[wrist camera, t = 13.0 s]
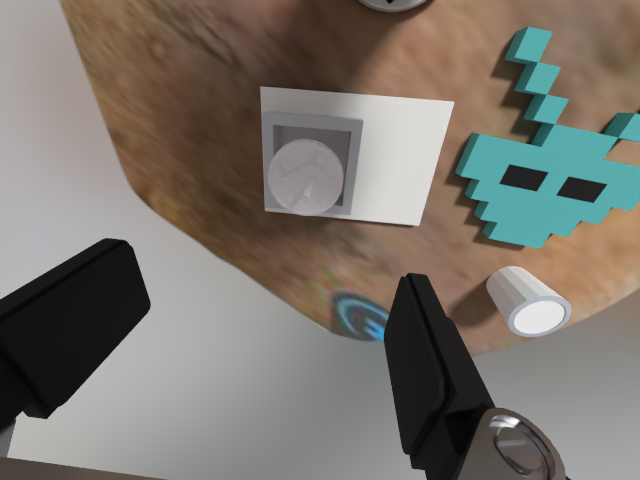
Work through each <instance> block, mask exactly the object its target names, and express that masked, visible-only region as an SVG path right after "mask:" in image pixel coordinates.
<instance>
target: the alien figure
mask: <svg viewBox="0 0 640 480" xmlns="http://www.w3.org/2000/svg"><path fill="white" fill-rule="evenodd" d="M552 33H553V32H551V31H546V30H542V29H537V28H532V27H526V28H524V29H521V30H519V31H517V32H516V34H515V36H514V38H513V41H512V43H511V45H510V48H509V50H508V52H507V54H506V57H505V59H504V60H506V61H511V62H516V63H520V64H525V65H526V66H525V68H524V70H523V72H522V74H521V76H520V78H519V80H518V83H517V85H516V87H515V89H514V91H518V92H522V93H527V94H532V95H534V97H533V99H532V101H531V103H530V105H529V107H528V109H527V111H526V113H525V115H524V117H523V119H526V120H531V121H536V122H540V123H542V125H541V127H540V129H539V130H538V132H537V134H536V136H535V138H534V139H533V141H532V143H531V145H530V144H525V143H520V142H515V141H511V140H506V139H501V138H496V137H491V136H486V135H481V134H477V133H472V134H471V136H470V139H469V141H468V143H467V146H466V148H465V150H464V152H463V155H462V157H461V159H460V161H459V164H458V166H457V168H456V171H455V173H457V174H458V175H460V176H462V177H467V178H472V179H471V181H470V183H469V185H468V187H467V189H466V192H465V195H467V196H468V197H469V198H471V199H476V200H480V202H479V204H478V206H477V208H476V210H475V212H474V214H475V215H476V216H477V217H478V218H479V219H481V220H486V221H488V222H487V224H486V226H485V228H484V229H483V231H482V233H483V234H484V235H485V236H487V237H488V238H489V239H494V240H499V241H504V242H509V243H514V244H519V245H524V246H529V247H534V248H539V249H540V248H541V246H542V245H543V244H544V242H545V241H546V239H547V238H548V236H549V235H550V234H556V235H561V236H566V237H569V235H570V234H571V233H572V231H573V230H574V229H575V227H576V226H577V225H578V223H579V222H580V221H585V222H590V223H595V224H599V223H600V222H601V221H602V219H603V218H604V217H605V216H606V214H607V213H608V212H609V210H610V209H611V208H612V207H615V208H620V209H625V210H630V211H631V210H632V209H633V208H634V207H635V205H636V204H637V203H638V202H639V201H640V167H637V166H632V165H627V164H622V163H617V162H612V161H608V160H603V159H604V157H605V156H606V154H607V153H608V152H609V150H610V149H611V147H612V146H613V144H614V143H615V142H616V140H617V139H622V140H629V141H636V142H640V114H636V113H617V115H616V116H615V118H614V119H613V121H612V122H611V124H610V125H609V127H608V128H607V130H606V131H605V133H604V134H599V133H594V132H589V131H585V130H580V129H575V128H570V127H565V126H561V125H556V124H555V123H556V121H557V119H558V118H559V116H560V114H561V112H562V111H563V109H564V107H565V105H566V104H567V102H568V100H569V99H565V98H560V97H555V96H550V95H547V93H548V91H549V90H550V88H551V86H552V84H553V82H554V80H555V78H556V76H557V75H558V73H559V71H560V69H561V67H558V66H553V65H548V64H544V63H539V62H538V61H539V59H540V57H541V55H542V53H543V51H544V49H545V47H546V45H547V43H548V41H549V39H550V37H551V35H552Z"/></svg>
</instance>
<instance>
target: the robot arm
mask: <svg viewBox="0 0 640 480" xmlns="http://www.w3.org/2000/svg"><path fill="white" fill-rule="evenodd" d="M358 1H359V2H361V3H362V4H364V5H365V6H367V7H369V8H372V9H374V10H377V11H382V12H389V13H393V12H401V11H406V10H409V9H412V8H415V7H417V6H419V5H421V4H423V3H424V2H426V1H428V0H392V3H390V4H389V3H387V0H358ZM150 305H151V304H150V300H149V296H148V293H147V290H146V287H145V284H144V281H143V278H142V275H141V271H140V268H139V265H138V262H137V259H136V256H135V253H134V250H133V248H132V247H131V246H130V245H129V243H128V242H127V241H125V240H118V239H110V238H105V239H103V240H101V241H99V242H97V243H96V244H94V245H92V246H91V247H89V248H87V249H85V250H84V251H82V252H80V253H79V254H77V255H75V256H74V257H72V258H70V259H68V260H67V261H65V262H63V263H62V264H60V265H58V266H56V267H55V268H53V269H51V270H50V271H48V272H46V273H45V274H43V275H41V276H39V277H38V278H36V279H34V280H33V281H31V282H30V283H28V284H26V285H24V286H22V287H21V288H19V289H17V290H16V291H14V292H12V293H10V294H9V295H7V296H6V297H4V298H2V299H0V480H165V479H158V478H151V477H144V476H137V475H129V474H122V473H115V472H108V471H101V470H94V469H86V468H79V467H72V466H65V465H57V464H51V463H43V462H35V461H28V460H21V459H13V458H7V454H8V450H9V446H10V442H11V438H12V434H13V430H14V426H15V422H16V416H18V415H19V414H20V413H21V412H22V411H23V412H24V413H25V414H26V415H27V416H28V417H36V418H43V419H47V418H48V417H49V416H50V415H51V414H52V413H53V412H54V411H55V410H56V408H57V407H59V406H61V405H63V404H64V403H66V402H67V401H68V399H69V398H70V397H71V396H72V395H73V394H74V393H75V392H76V391H77V390H78V389H79V388H80V386H81V385H82V384H83V383H84V382H85V381H86V380H87V379H88V378H89V377H90V375H91V374H92V373H93V372H94V371H95V370H96V369H97V368H98V367H99V366H100V364H101V363H102V362H103V361H104V360H105V359H106V358H107V357H108V356H109V355H110V353H111V352H112V351H113V350H114V349H115V348H116V347H117V346H118V345H119V344H120V342H121V341H122V340H123V339H124V338H125V337H126V336H127V335H128V334H129V332H131V330H132V329H133V328H134V327H135V326H136V325H137V324H138V322H140V321H141V319H142V318H143V317H144V316H145V315H146V314H147V313H148V311H149V309H150ZM384 344H385V350H386V356H387V362H388V368H389V373H390V379H391V385H392V391H393V397H394V403H395V409H396V415H397V420H398V427H399V432H400V438H401V444H402V448H403V452H404V453H405V454H408V455H410V460H411V466H412V468H413V469H420V470H425V473H426V478H427V480H571V479H569V478H568V477H567V476H566V475H565V467H564V465H563V462H562V460H561V458H560V455H559V453H558V452H557V450H556V449H555V447H554V446H553V445H552V443H551V441H550V440H549V439H548V438H547V437H546V436H545V435H544V433H543V432H542V431H541V430H540V429H539V428H537V426H535V425H534V424H533V423H532V422H530V421H529V420H528V419H527V418H525V417H523V416H521V415H520V414H518V413H516V412H514V411H511V410H508V409H505V408H496V407H495V405H494V403H493V401H492V399H491V397H490V395H489V393H488V391H487V389H486V387H485V385H484V383H483V381H482V379H481V377H480V375H479V373H478V371H477V368H476V366H475V365H474V362H473V360H472V358H471V356H470V354H469V352H468V350H467V348H466V346H465V344H464V342H463V340H462V338H461V336H460V334H459V332H458V330H457V328H456V326H455V324H454V322H453V321H452V319H450V318H449V317H446V315H445V312H444V310H443V308H442V306H441V304H440V302H439V300H438V298H437V296H436V294H435V291H434V289H433V287H432V285H431V283H430V281H429V279H428V277H427V275H423V274H414V273H408V274H407V275H406V277H403V276H402V277H401V278H400V281H399V285H398V288H397V291H396V295H395V298H394V301H393V305H392V308H391V311H390V315H389V318H388V321H387V324H386V328H385V331H384Z"/></svg>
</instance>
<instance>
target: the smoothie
mask: <svg viewBox="0 0 640 480" xmlns="http://www.w3.org/2000/svg"><path fill="white" fill-rule="evenodd" d="M268 183H269V187H270V190H271V193H272V195H273V197H274V198H275V200H276V201H277V202H278V203H279V204H280V205H281V206H282V207H283V208H285V209H286V210H288V211H290V212H292V213H294V214H297V215H302V216H312V215H317V214H320V213H322V212H324V211H326V210H328V209H329V208H330V207H331V206H332V205H333V204H334V203H335V202H336V201H337V199H338V197H339V195H340V193H341V190H342V185H343V170H342V166H341V164H340V161H339V159H338V157H337V156H336V155H335V154H334V152H333V151H332V150H331V149H330V148H328V147H327V146H326V145H325V144H323V143H321V142H318V141H315V140H309V139H300V140H295V141H292V142H290V143H288V144H286V145H284V146H283V147H282V148H281V149H280V150H279V151H278V152H277V153H276V155H275V156H274V157H273V159H272V161H271V163H270V166H269V170H268Z"/></svg>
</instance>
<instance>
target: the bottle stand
mask: <svg viewBox="0 0 640 480" xmlns="http://www.w3.org/2000/svg"><path fill="white" fill-rule="evenodd" d="M260 91H261V118H262V145H263V172H264V200H265V211H270V212H281V213H291V214H294V213H292V212H290V211H288V210H286V209H285V208H283V207H282V206H281V205H280V204H279V203H278V202H277V201H276V200H275V198H274V197H273V195H272V193H271V190H270V187H269V183H268V170H269V166H270V163H271V161H272V159H273V157H274V156H275V155H276V153H277V152H278V151H279V150H280V149H281V148H282V147H283V146H284V145H286V144H288V143H290V142H292V141H295V140H300V139H309V140H315V141H318V142H321V143H323V144H325V145H326V146H327V147H328V148H330V149H331V150H332V151H333V152H334V154H335V155H336V156H337V157H338V159H339V161H340V164H341V166H342V170H343V185H342V190H341V193H340V195H339V197H338V199H337V201H336V202H335V203H334V204H333V205H332V206H331V207H330V208H329V209H328V210H326V211H324V212H322V213H320V214H317V215H312V216H322V217H333V218H343V219H354V220H364V221H375V222H385V223H396V224H406V225H417V226H419V224H420V220H421V217H422V213H423V210H424V206H425V203H426V199H427V196H428V192H429V189H430V185H431V182H432V179H433V175H434V172H435V168H436V165H437V161H438V158H439V154H440V151H441V147H442V144H443V140H444V137H445V133H446V130H447V126H448V123H449V119H450V116H451V112H452V109H453V105H454V102H450V101H438V100H425V99H413V98H400V97H388V96H375V95H362V94H350V93H337V92H325V91H312V90H300V89H287V88H274V87H262V86H260Z"/></svg>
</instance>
